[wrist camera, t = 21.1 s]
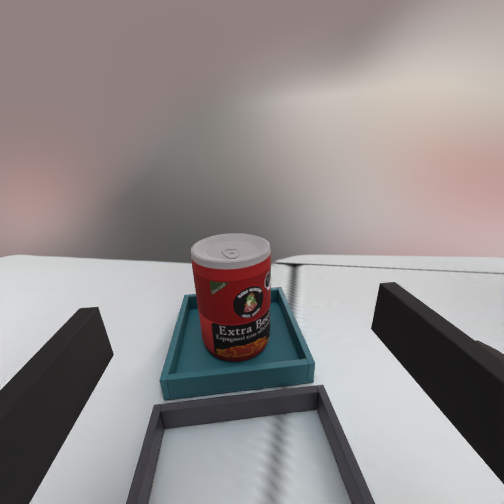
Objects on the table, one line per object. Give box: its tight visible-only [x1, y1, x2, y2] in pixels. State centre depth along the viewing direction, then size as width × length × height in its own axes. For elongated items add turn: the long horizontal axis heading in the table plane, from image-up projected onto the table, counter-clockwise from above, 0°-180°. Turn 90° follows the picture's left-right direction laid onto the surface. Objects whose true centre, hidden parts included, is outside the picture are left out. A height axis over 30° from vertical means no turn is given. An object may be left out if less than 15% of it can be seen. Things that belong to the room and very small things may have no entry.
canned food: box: [191, 233, 271, 362], centre depth 25 cm, size 8×8×11 cm
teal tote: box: [160, 287, 315, 400], centre depth 26 cm, size 13×13×2 cm
